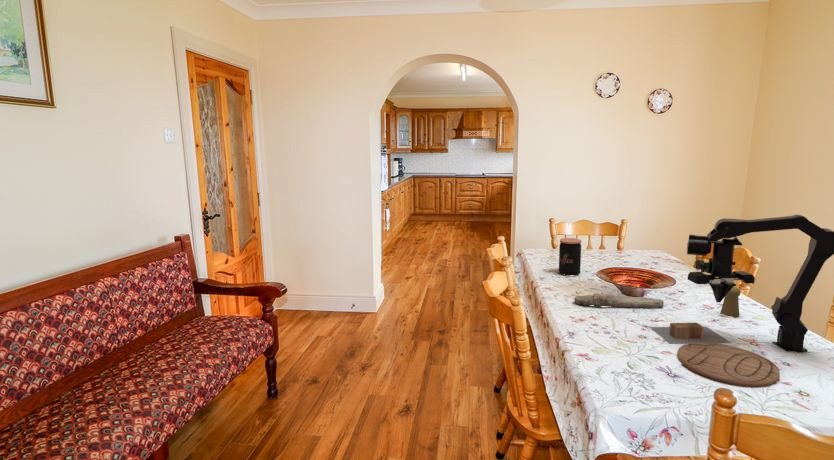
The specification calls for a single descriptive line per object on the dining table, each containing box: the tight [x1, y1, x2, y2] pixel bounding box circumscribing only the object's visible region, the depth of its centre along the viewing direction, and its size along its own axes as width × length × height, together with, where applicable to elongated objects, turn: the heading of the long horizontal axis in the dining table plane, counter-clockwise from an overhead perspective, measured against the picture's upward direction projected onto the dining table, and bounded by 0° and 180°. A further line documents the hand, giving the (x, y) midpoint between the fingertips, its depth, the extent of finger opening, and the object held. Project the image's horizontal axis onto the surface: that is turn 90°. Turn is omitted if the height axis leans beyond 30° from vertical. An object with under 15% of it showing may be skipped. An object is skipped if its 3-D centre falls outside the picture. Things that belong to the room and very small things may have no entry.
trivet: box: [676, 342, 781, 388], centre depth 132 cm, size 25×25×2 cm
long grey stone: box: [574, 293, 665, 309], centre depth 184 cm, size 35×5×10 cm
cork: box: [720, 286, 742, 318], centre depth 169 cm, size 6×6×11 cm
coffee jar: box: [558, 237, 582, 276], centre depth 230 cm, size 11×11×18 cm
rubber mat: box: [649, 326, 732, 345], centre depth 153 cm, size 14×20×1 cm
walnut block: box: [669, 322, 704, 339], centre depth 151 cm, size 4×4×9 cm
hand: (718, 302), depth 149 cm, fingers closed
